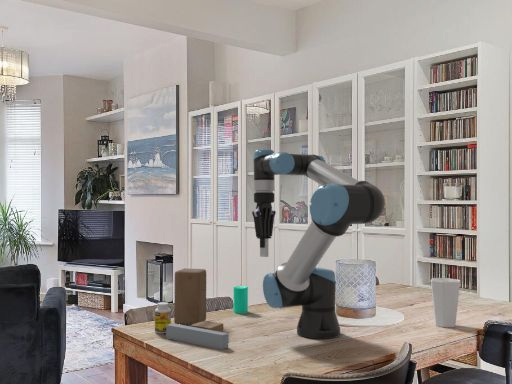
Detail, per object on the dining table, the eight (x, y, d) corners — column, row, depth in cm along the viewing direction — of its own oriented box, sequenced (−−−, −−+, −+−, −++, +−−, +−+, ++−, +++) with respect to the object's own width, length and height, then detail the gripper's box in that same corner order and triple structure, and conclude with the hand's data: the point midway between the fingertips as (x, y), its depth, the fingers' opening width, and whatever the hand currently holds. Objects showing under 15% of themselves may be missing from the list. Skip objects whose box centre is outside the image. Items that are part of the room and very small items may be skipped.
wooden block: (199, 326, 202) (199, 272, 202) (173, 324, 204) (173, 271, 204) (206, 320, 211) (207, 268, 212) (182, 319, 213) (182, 268, 214)
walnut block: (223, 338, 185) (223, 323, 186) (210, 343, 178) (210, 328, 179) (203, 335, 189) (204, 320, 189) (190, 340, 182) (190, 325, 182)
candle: (250, 311, 229) (250, 282, 229) (243, 314, 224) (244, 284, 224) (237, 310, 232) (237, 281, 232) (230, 312, 226) (231, 283, 226)
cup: (433, 321, 212) (433, 277, 212) (461, 323, 207) (461, 279, 208) (429, 327, 202) (429, 281, 202) (458, 330, 197) (458, 283, 198)
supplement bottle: (151, 333, 191) (152, 304, 191) (159, 329, 196) (159, 301, 196) (166, 334, 189) (166, 305, 189) (173, 331, 194) (173, 302, 194)
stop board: (228, 347, 173) (228, 333, 173) (222, 349, 170) (222, 335, 170) (172, 336, 186) (172, 323, 186) (166, 338, 184) (166, 324, 184)
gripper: (264, 192, 207) (264, 254, 207) (245, 191, 196) (245, 257, 196) (281, 192, 203) (282, 255, 202) (263, 191, 192) (263, 258, 191)
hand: (264, 256), depth 199 cm, fingers closed
